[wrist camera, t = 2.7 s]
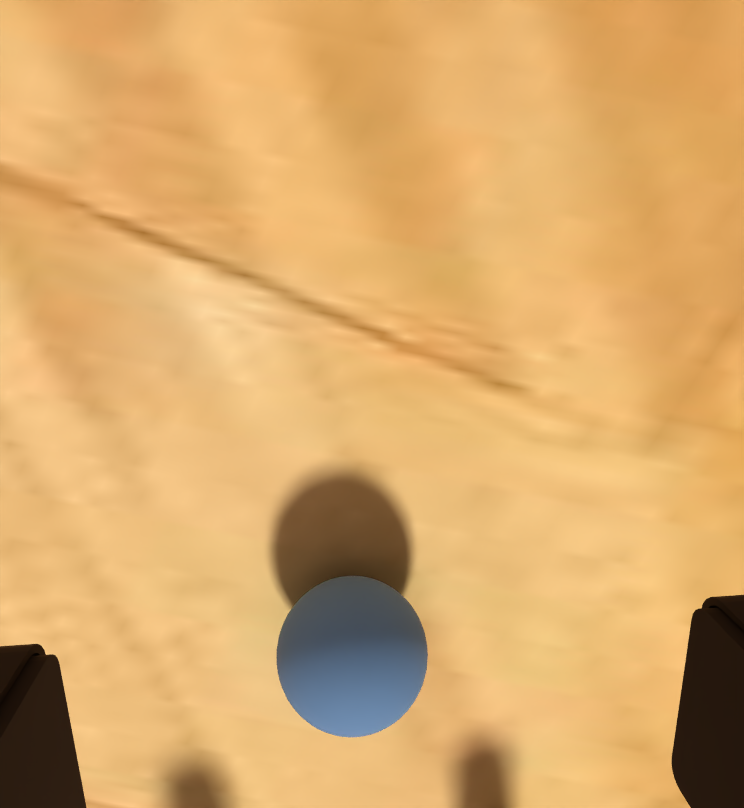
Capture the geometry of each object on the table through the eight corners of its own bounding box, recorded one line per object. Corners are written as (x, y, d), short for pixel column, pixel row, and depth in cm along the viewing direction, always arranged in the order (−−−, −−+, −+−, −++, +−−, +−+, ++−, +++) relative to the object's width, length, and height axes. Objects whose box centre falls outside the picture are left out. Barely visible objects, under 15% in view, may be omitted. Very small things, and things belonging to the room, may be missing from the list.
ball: (276, 552, 26) (266, 642, 21) (415, 544, 27) (441, 630, 21) (284, 670, 28) (276, 781, 22) (415, 661, 28) (438, 768, 23)
